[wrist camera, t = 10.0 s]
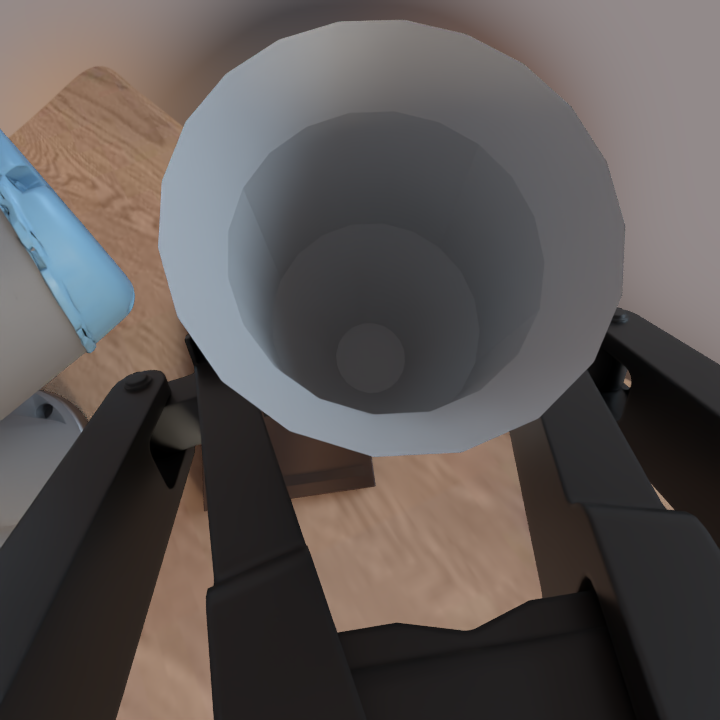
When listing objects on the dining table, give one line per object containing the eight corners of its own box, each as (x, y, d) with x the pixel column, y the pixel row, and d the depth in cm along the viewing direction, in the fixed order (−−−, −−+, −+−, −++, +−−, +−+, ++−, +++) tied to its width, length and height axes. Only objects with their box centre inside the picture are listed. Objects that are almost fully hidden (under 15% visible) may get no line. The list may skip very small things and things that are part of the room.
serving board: (210, 509, 33) (203, 511, 31) (202, 292, 38) (196, 285, 36) (374, 485, 33) (375, 486, 32) (345, 274, 38) (344, 266, 37)
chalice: (298, 351, 24) (137, 53, 6) (405, 328, 24) (528, -8, 7) (321, 472, 22) (187, 517, 5) (436, 445, 22) (713, 393, 5)
